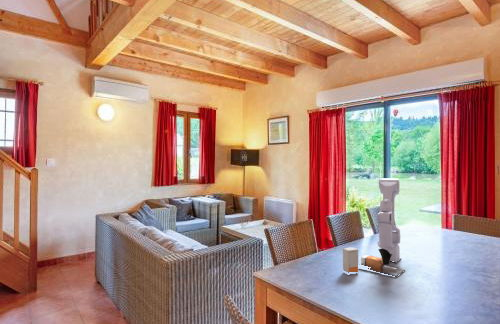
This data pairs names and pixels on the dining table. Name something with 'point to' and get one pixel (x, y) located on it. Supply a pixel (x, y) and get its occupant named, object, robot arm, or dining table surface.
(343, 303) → the dining table surface
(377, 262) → the lock block
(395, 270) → the plate
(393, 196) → the robot arm
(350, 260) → the skincare box
